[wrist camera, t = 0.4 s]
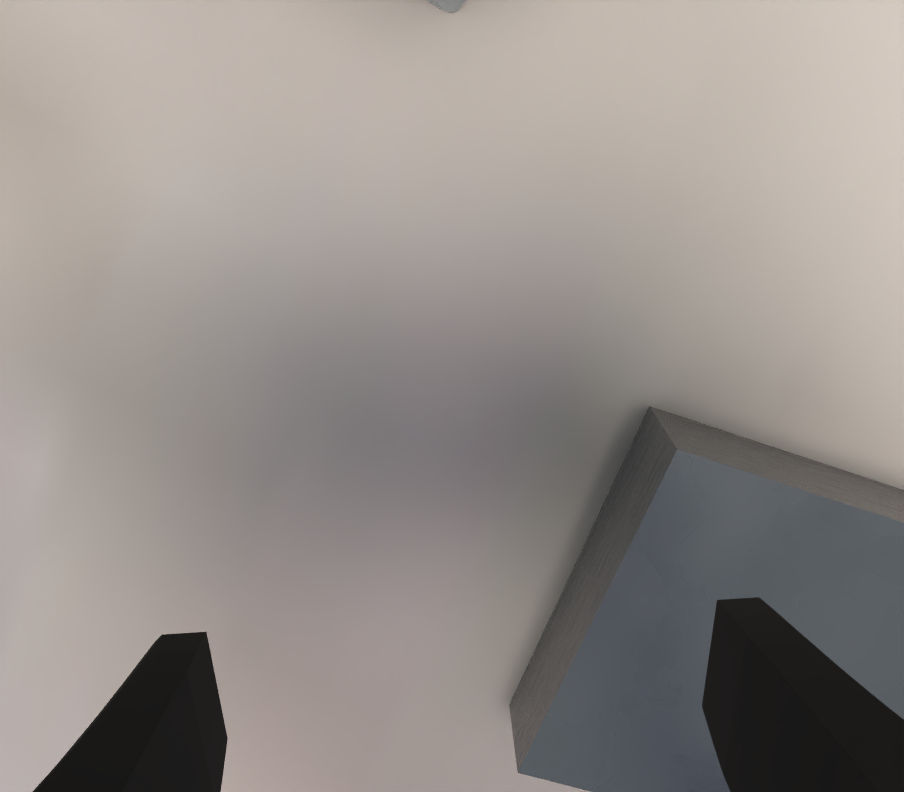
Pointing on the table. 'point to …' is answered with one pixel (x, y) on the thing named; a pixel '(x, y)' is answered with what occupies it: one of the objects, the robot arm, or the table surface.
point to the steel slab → (703, 602)
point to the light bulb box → (448, 4)
